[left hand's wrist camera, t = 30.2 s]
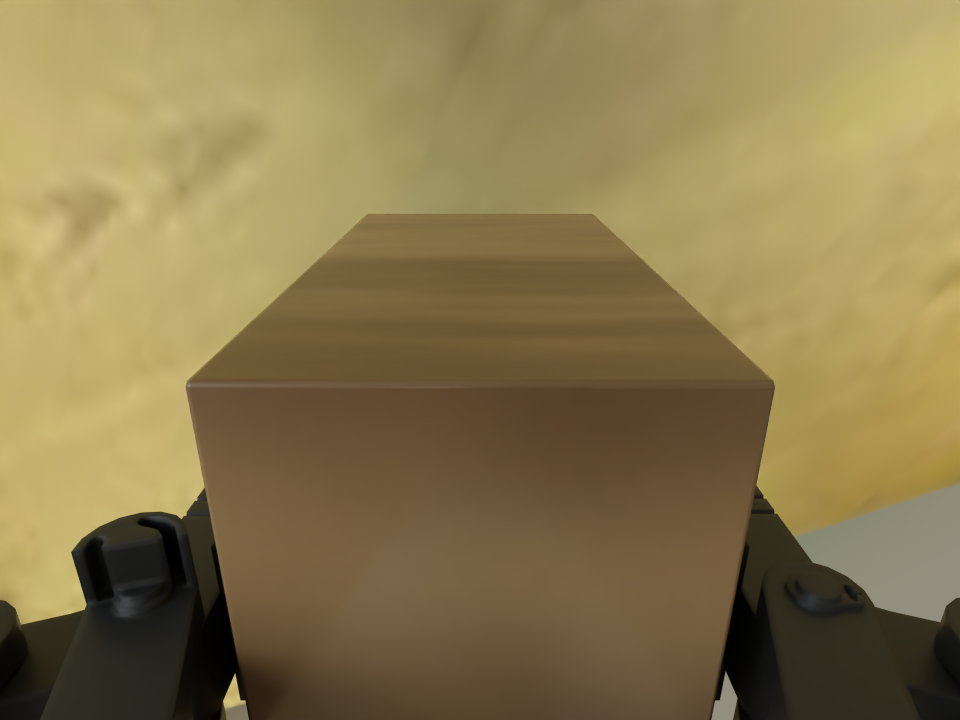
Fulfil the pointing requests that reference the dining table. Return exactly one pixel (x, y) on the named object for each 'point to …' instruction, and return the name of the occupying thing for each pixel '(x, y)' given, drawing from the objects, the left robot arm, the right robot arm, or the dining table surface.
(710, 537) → the block
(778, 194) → the dining table surface
